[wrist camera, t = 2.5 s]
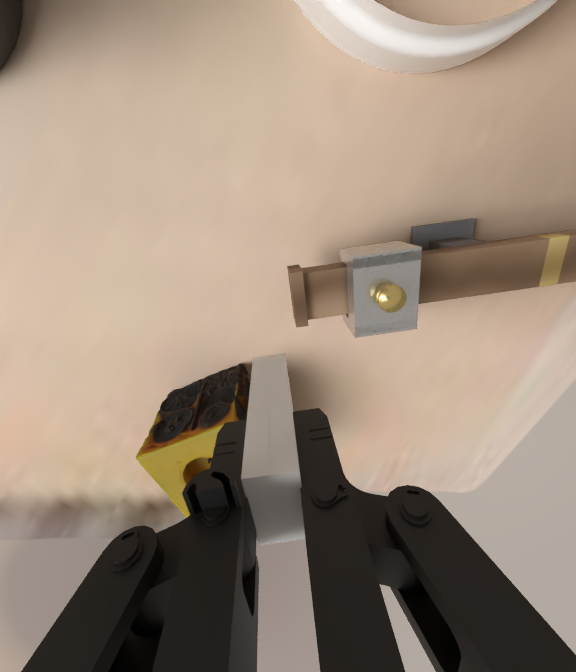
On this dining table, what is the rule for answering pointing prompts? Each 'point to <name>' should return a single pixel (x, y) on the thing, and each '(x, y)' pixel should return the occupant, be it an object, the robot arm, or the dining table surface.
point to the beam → (448, 268)
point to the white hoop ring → (410, 34)
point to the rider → (382, 287)
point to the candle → (192, 429)
